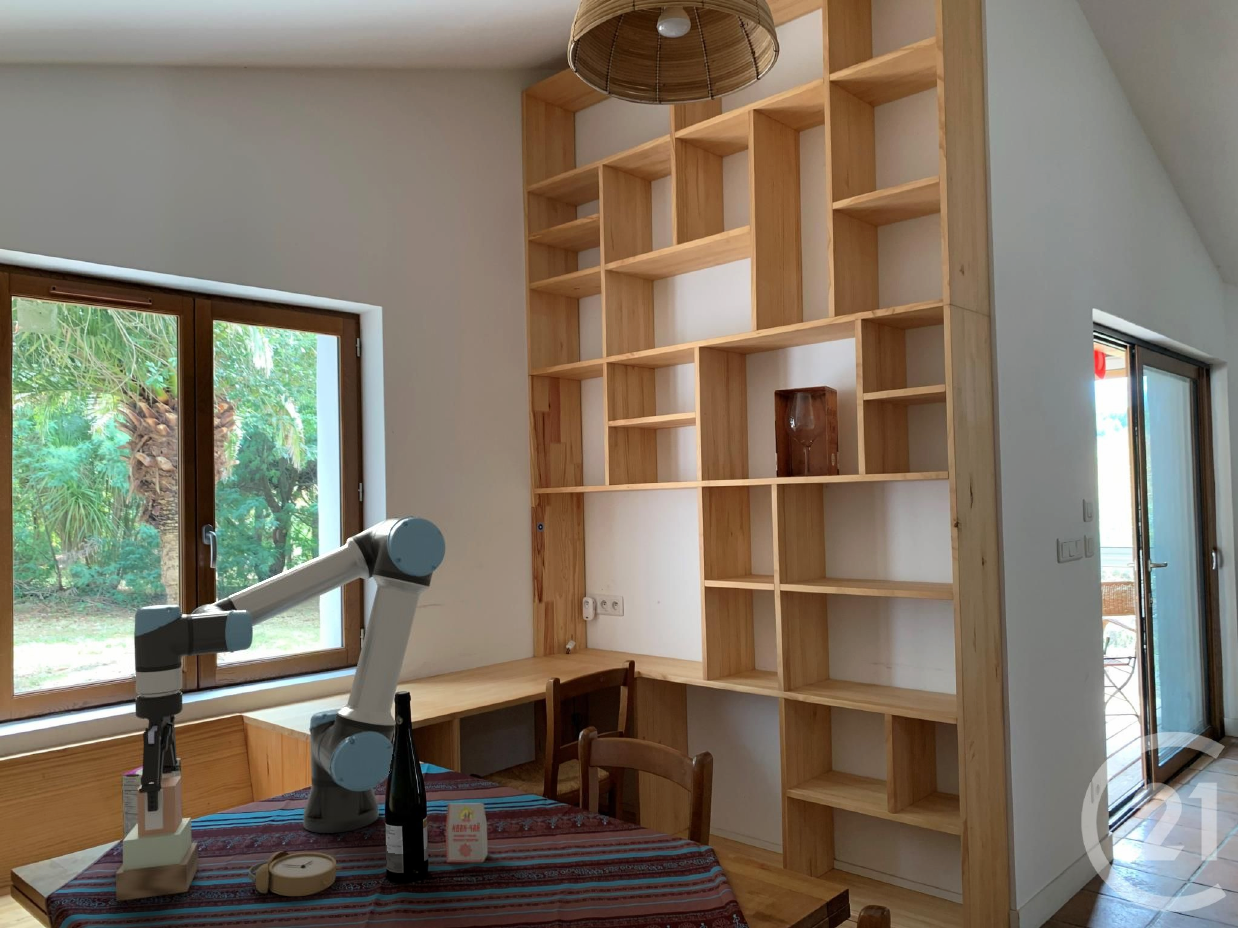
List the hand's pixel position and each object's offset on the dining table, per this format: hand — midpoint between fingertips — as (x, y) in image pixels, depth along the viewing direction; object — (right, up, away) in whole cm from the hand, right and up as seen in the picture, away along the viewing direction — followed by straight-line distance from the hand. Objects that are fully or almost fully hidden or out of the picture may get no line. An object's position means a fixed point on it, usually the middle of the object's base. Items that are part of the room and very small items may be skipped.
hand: (160, 818), depth 164 cm
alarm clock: (+24, -11, -3) cm, 27 cm away
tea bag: (+54, -10, +6) cm, 55 cm away
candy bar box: (-9, -12, +16) cm, 22 cm away
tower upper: (0, -7, -1) cm, 7 cm away
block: (0, -2, 0) cm, 2 cm away
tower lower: (0, -12, -1) cm, 12 cm away
